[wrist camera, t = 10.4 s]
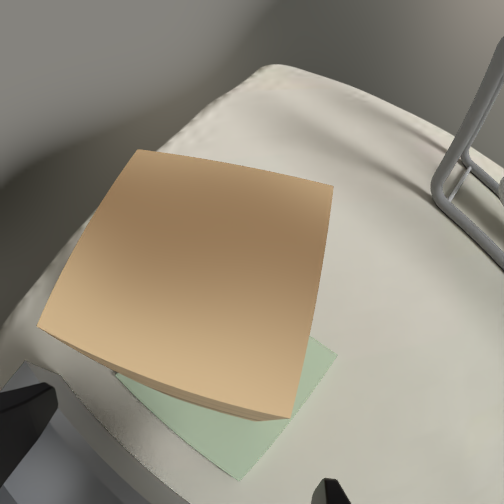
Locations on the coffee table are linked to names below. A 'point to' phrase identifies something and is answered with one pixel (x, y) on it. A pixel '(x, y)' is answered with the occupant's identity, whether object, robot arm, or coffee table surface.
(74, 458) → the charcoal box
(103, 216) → the oak post
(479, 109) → the newton's cradle
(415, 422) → the coffee table surface
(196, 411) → the sage mat
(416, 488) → the coffee table surface
